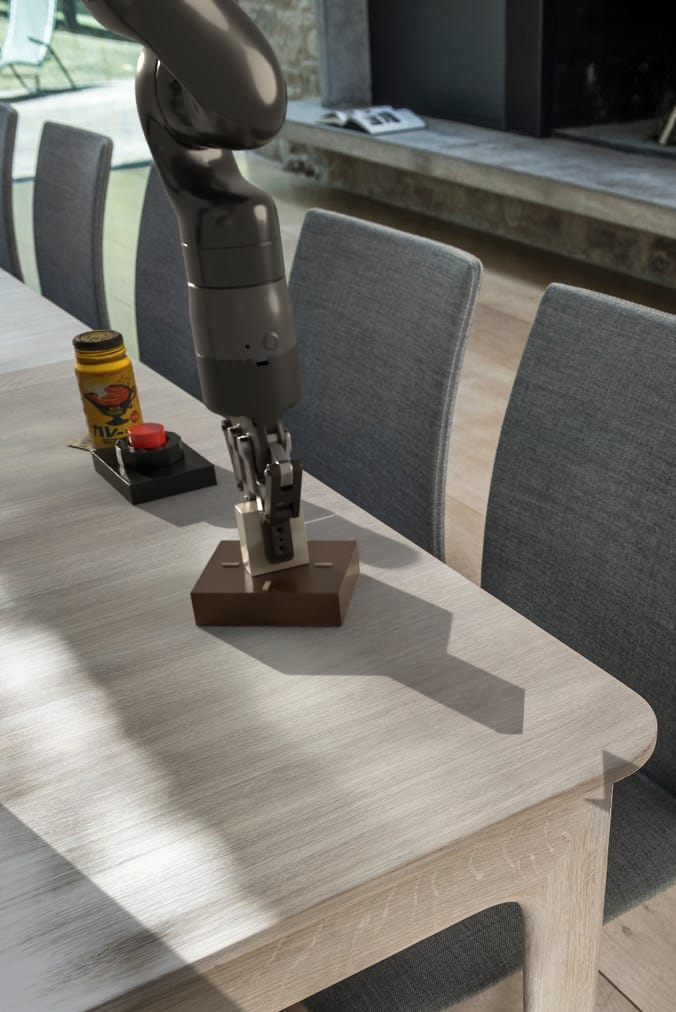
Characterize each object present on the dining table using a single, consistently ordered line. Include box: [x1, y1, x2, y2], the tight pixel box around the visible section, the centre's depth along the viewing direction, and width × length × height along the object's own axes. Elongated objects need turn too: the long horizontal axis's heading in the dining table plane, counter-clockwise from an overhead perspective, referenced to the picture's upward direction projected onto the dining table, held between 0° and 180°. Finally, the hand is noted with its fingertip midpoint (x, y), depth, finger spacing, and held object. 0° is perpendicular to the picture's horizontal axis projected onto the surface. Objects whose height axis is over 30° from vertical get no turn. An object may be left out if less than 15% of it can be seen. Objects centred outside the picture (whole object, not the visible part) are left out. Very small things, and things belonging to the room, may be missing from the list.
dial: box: [234, 500, 309, 576], centre depth 94 cm, size 5×2×6 cm, turn 117°
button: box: [128, 422, 167, 448], centre depth 118 cm, size 4×4×2 cm
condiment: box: [64, 329, 144, 452], centre depth 127 cm, size 7×8×12 cm
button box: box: [90, 430, 218, 506], centre depth 120 cm, size 12×9×4 cm
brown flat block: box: [189, 539, 361, 627], centre depth 96 cm, size 12×10×3 cm
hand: (275, 553), depth 95 cm, fingers closed on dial, 2 cm apart
